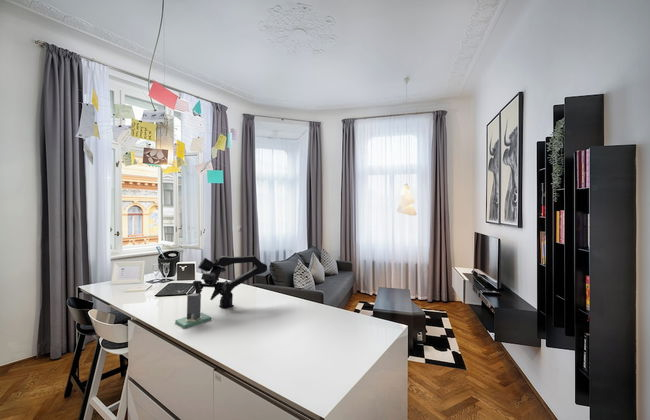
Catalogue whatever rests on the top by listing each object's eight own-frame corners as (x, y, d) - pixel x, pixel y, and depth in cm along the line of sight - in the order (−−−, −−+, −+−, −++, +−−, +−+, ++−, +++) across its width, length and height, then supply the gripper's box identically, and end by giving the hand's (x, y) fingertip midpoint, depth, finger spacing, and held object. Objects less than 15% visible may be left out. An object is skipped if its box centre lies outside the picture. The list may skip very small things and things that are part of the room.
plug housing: (191, 316, 141) (192, 293, 141) (200, 317, 140) (200, 293, 140) (186, 319, 137) (187, 295, 137) (195, 320, 136) (196, 296, 137)
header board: (201, 315, 147) (202, 308, 147) (211, 319, 141) (211, 312, 141) (175, 323, 136) (175, 315, 136) (184, 328, 130) (184, 320, 130)
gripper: (194, 266, 153) (181, 291, 142) (224, 268, 151) (213, 293, 140) (202, 277, 161) (190, 301, 150) (230, 278, 159) (220, 303, 148)
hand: (203, 299), depth 147 cm, fingers open, 9 cm apart
